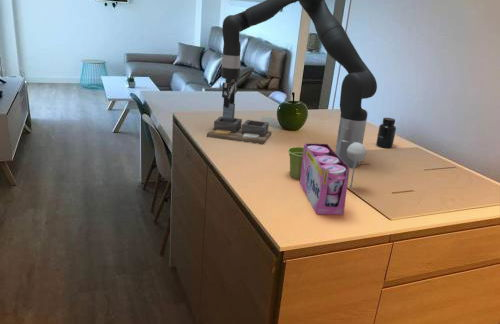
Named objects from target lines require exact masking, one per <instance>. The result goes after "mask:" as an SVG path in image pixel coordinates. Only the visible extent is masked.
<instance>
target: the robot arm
mask: <svg viewBox="0 0 500 324" xmlns="http://www.w3.org/2000/svg"><path fill="white" fill-rule="evenodd" d="M297 2H298V4H299V5H300V6H301V7H302V8H303V10H304V11H305V12H306V14H307V15H308V17H309V19H310V20H311V21H312V23H313V25H314V29H315V32H316V34H317V36H318V39H319V41H320V43H321V45H322V46H323V48H324V50H325V51H326V53H327V54H328V55H329V56H330V57H331V58H332V59H333V60H334V61H336V62H337V63H338V64H339V65H341V67H343V68H344V69H345V72H347V74H346V75H345V76H344V78H343V80H342V82H341V87H340V98H339V110H340V116H339V125H338V130H337V136H336V137H337V139H336V145H335V151H334V152H335V153H336V154H337V155H338V156H339V158H340V159H341V160H342V161H343V162H345V163H346V165H347V166H348V167H349V169H351V168H352V169H353V167H354V161H352V160H350V159H349V157H348V156H347V149H348V147H349V146H350V145H351V144H353V143H361V144H362V145H364V138H365V131H366V125H367V120H368V111H367V110H366V109H364V108H362V101H363V99H364V100H365V99H369V98H372V97H374V96H375V94H376V93H377V90H378V84H377V83H378V82H377V79H376V78H375V76H374V74H373V73H372V72H371V70H370V68H369V67H368V66H367V64H365V62H364V61H363V59H362V58H361V56H360V54H359V53H358V50H357V49H356V48H355V46H354V45H353V43H352V41H351V39H350V37H349V35H348V34H347V32H346V30H345V29H344V27H343V25H342V24H341V23H340V21H339V20H338V19H337V18H336V16H335V15H334V14H333V13H332V12H331V10H330V9H329V7H328V5H327V3H326V0H264V1H262V2H259V3H256V4H255V5H252V6H249V7H248V8H247V9H246V8H245V10H244V11H243V10H242V12H238V13H236V14H231V15H227V16H226V17H225V18H224V19H223V21H222V39H223V48H222V49H223V50H222V51H223V52H222V57H221V58H222V59H221V74H220V75H221V78H222V79H224V80H225V82H223V83H222V90H221V91H222V92H221V98H223V104H224V107H226V108H228V107H229V103H234V104H235V101H236V100H235V98H236V97H235V95H236V93H237V92H238V80H239V79H240V76H241V52H242V51H241V49H242V44H241V41H240V33H241V32H243V31H245V30H247V29H249V28H251V27H254V26H257V25H259V24H262V23H265V22H267V21H268V20H271V19H272V18H273V17H275V16H276V15H277V14H278V13H279V12H280V11H282V10H283V9H284V8H286V7H288V6H289V5H291V4H293V3H297ZM360 162H361V161H358V162H356V163H355V168H357V167H359V166H360Z"/></svg>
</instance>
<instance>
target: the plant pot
mask: <svg viewBox="0 0 500 324" xmlns="http://www.w3.org/2000/svg"><path fill="white" fill-rule="evenodd" d="M303 149H304V146H292V147H289V148H288V149H287V152H288V156H289V170H290V171H289V175H290V176H292V178H294V179H299V180H300V178H301V169H302V159H303Z"/></svg>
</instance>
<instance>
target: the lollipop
mask: <svg viewBox="0 0 500 324" xmlns="http://www.w3.org/2000/svg"><path fill="white" fill-rule="evenodd" d="M347 156H348V157H349V159H350V160H352V161H354V167H353V168H352V173H351V181H350V187H349V189H352V187H353V183H354V176H355V175H354V174H355V169H356V167H355V163H356V162H358V161H360V162H361V161H363V160H364V159H365V158H366V156H367V149H366V147H365V145H364V144H363V145H362V144H361V143H353V144H351V145H350V146H349V147H348V149H347Z"/></svg>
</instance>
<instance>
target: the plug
mask: <svg viewBox="0 0 500 324" xmlns="http://www.w3.org/2000/svg"><path fill="white" fill-rule="evenodd" d="M235 108H236V103H235V102H234V103H229V107H228V108H226V107H224V103H223V104H222V117H223V120H222V121H223V122H231V123H234V118H235V113H236V112H235V111H236V109H235Z"/></svg>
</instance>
